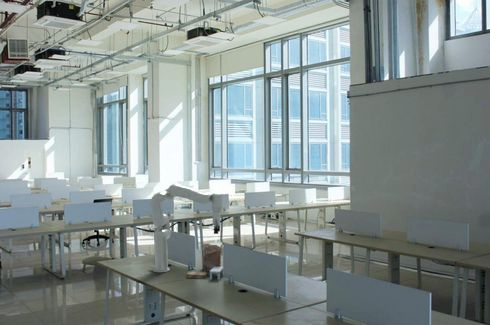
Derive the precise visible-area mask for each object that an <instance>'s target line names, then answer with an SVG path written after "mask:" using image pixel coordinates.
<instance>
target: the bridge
mask: <svg viewBox="0 0 490 325" xmlns="http://www.w3.org/2000/svg"><path fill="white" fill-rule="evenodd" d="M223 270H224V266H220V267H213V268H212V269H211V270H210V272H209V280H211V281H213V275H214V276H216V280H217V281H220V280H221V277H223V276H224V275H223ZM224 271H225V270H224Z"/></svg>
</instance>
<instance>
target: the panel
mask: <svg viewBox="0 0 490 325" xmlns="http://www.w3.org/2000/svg"><path fill="white" fill-rule="evenodd" d="M185 275H186V278H187V279H188V278H189V279H206V278H208V276H209V272H208V271H192V270H191V271H188V272H187V273H186V274H185Z"/></svg>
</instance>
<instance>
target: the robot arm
mask: <svg viewBox="0 0 490 325" xmlns="http://www.w3.org/2000/svg"><path fill="white" fill-rule="evenodd" d="M176 197H177V198H183V199H186V200H189V201H191V202H194V203H198V204H203V205H205V204H208V203H209V204H210V203H211V213H212V224H211V225H212V226H213V234H214V235H218V234H219V232H221V227H220V225H221V212H223V202H222V201H223V200H222V199H223V194H222V193H221V192H205V193H204V192H203V193H202V192H199V191H195V190H193V188H191V187H187V186H183V185H181V184H180V183H172V184H170V186H169V187H168V188H166V189H165V190H163V191H159V192H157V193H155V194H153V196H152V197H151V199H150V203H149V204H150V205H149V206H150V211H151V217H152V223H153V226H154V227H155V228H158V229H157V230H156V231H155V232H154V233H153V234H154V235H153V242H154V264H149V267H150V268H151V269H152V271H153V272H154V273H167V272H170V270H171V269H170V267H169V264H168V263H169V262H168V260H169V259H168V258H169V257H168V256H169V255H168V252H169V250H168V242H167V241H168V239H170V237H171V235H172V230H171V225H170V224H171V223H170V218H169V216H168V215H167V214H165V213H164V210H163V207H162V204H164V203H167V202H169V201H171V200H172V199H174V198H176Z"/></svg>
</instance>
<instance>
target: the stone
mask: <svg viewBox="0 0 490 325" xmlns="http://www.w3.org/2000/svg"><path fill="white" fill-rule="evenodd" d="M221 249H222V247H221V246H219V245H218V244H210V243H203V244H202V246H201V261H202V265H201V266H202V270H204V272H208V273H210V270H211V269H212V268H213V267H221V265H222V264H221V262H222V261H221V255H222V250H221Z"/></svg>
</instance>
